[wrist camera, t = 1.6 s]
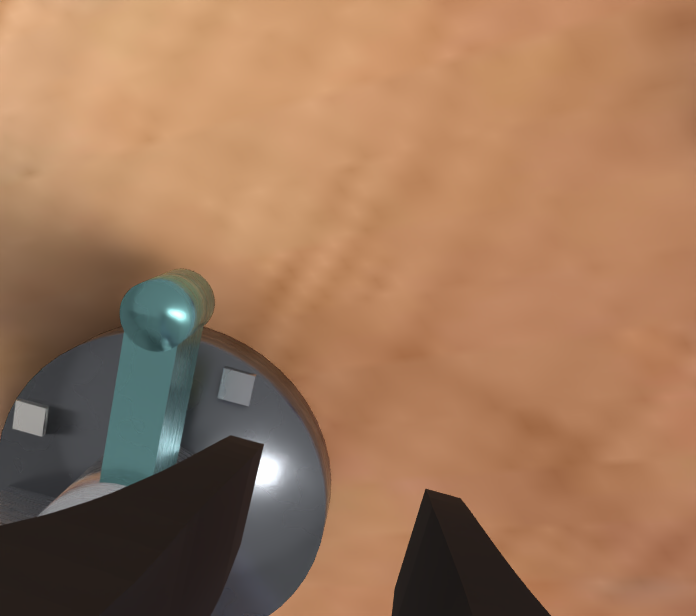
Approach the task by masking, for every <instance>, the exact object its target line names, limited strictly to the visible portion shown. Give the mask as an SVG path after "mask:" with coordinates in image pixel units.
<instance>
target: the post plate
mask: <svg viewBox="0 0 696 616" xmlns="http://www.w3.org/2000/svg"><path fill="white" fill-rule="evenodd" d="M123 335H124V330H123V327H119V328H116V329H113V330H110V331H107V332H104V333H102V334H100V335H98V336H96V337H94V338H92V339H90V340H88V341H86V342H84V343H82V344H81V345H79V346H77V347H75V348H73V349H71V350H69V351H67V352H65V353H64V354H62V355H60V356H58V357H57V358H56V359H54V360H53V361H51V362H50V363H49V364H47V365H46V366H45V367H43V368H42V369H41V370H40V371H39V372H38V373H37V374H36V375H35V376H34V377H33V378H32V379H31V380H30V381H29V382H28V384H27V385H26V386H25V388H24V389H23V390H22V392H21V393H20V394H19V396H18V397H17V399H16V401H15V403H14V405H13V407H12V408H11V410H10V412H9V414H8V417H7V420H6V422H5V425H4V428H3V431H2V435H1V440H0V525H4V524H9V523H13V522H17V521H21V520H26V519H30V518H34V517H37V516H38V515H39V514H40V513H41V512H42V511H43V510H44V509H45V508H46V507H48V506H49V505H50V504H51V503H52V502H53V501H54V500H55V499H56V498H57V497H58V496H59V495H60V494H62V493H63V492H64V491H65V490H66V489H67V488H68V487H69V486H70V485H71V484H72V483H73V482H74V481H76V480H77V479H78V478H79V477H80V476H81V475H82V474H83V473H84V472H85V471H86V470H87V469H88V468H90V467H91V466H92V465H93V464H94V463H95V462H96V461H97V460H98V459H99V458H100V457H101V456H102V455H104V451H105V445H106V439H107V433H108V427H109V421H110V415H111V408H112V402H113V396H114V390H115V384H116V378H117V372H118V366H119V360H120V354H121V348H122V341H123ZM230 435H232V436H236V437H240V438H243V439H247V440H250V441H254V442H258V443H261V444H264V447H263V451H262V456H261V460H260V464H259V469H258V473H257V477H256V481H255V486H254V490H253V494H252V499H251V503H250V507H249V511H248V516H247V520H246V524H245V529H244V533H243V537H242V541H241V545H240V548H239V551H238V553H237V556H236V558H235V561H234V564H233V566H232V569H231V571H230V574H229V577H228V579H227V582H226V584H225V587H224V589H223V592H222V594H221V597H220V599H219V600H218V602H217V604H216V606H215V608H214V610H213V612H212V614H211V616H269V615H270V614H271V613H273V612H274V611H275V610H277V609H278V608H279V607H281V606H282V605H283V604H284V603H285V602H286V601H287V600H288V599H289V598H290V597H291V596H292V595H293V594H294V592H295V591H296V590H297V588H298V587H299V586H300V584H301V583H302V582H303V580H304V579H305V577H306V575H307V574H308V572H309V570H310V568H311V566H312V564H313V562H314V560H315V557H316V554H317V552H318V549H319V546H320V543H321V539H322V535H323V531H324V526H325V522H326V518H327V513H328V508H329V503H330V494H331V473H330V462H329V457H328V453H327V448H326V444H325V440H324V438H323V435H322V432H321V430H320V427H319V425H318V422H317V420H316V418H315V416H314V415H313V413H312V411H311V409H310V407H309V405H308V404H307V402H306V401H305V399H304V398H303V396H302V395H301V394H300V392H299V391H298V390H297V388H296V387H295V385H294V384H293V383H292V382H291V381H290V380H289V379H288V378H287V377H286V376H285V375H284V374H283V373H282V372H281V371H280V370H279V369H278V368H277V367H276V366H275V365H273V364H272V363H271V362H270V361H269V360H267V359H266V358H265V357H264V356H263V355H261V354H259V353H258V352H256V351H255V350H253V349H252V348H250V347H249V346H247V345H245V344H244V343H242V342H239V341H237V340H235V339H233V338H231V337H229V336H227V335H225V334H222V333H219V332H216V331H213V330H210V329H207V328H204V327H203V331H202V336H201V342H200V347H199V352H198V357H197V362H196V367H195V372H194V377H193V382H192V387H191V392H190V397H189V403H188V408H187V413H186V418H185V423H184V428H183V433H182V438H181V443H180V446H181V447H183V448H184V449H186V450H187V451H189V452H190V453H192V454H193V455H194V454H196V453H198V452H199V451H201V450H203V449H205V448H207V447H209V446H211V445H213V444H214V443H216V442H218V441H220V440H222V439H224V438H226V437H228V436H230Z"/></svg>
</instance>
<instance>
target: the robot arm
mask: <svg viewBox="0 0 696 616" xmlns="http://www.w3.org/2000/svg"><path fill="white" fill-rule="evenodd" d="M263 447H264V444H261V443H258V442H254V441H250V440H247V439H243V438H240V437H236V436H232V435H230V436H228V437H226V438H224V439H222V440H220V441H218V442H216V443H214V444H213V445H211V446H209V447H207V448H205V449H203V450H201V451H199V452H198V453H196V454H194V455H192V456H190V457H188V458H186V459H185V460H183V461H181V462H179V463H177V464H175V465H173V466H171V467H169V468H167V469H165V470H163V471H161V472H159V473H156V474H154V475H152V476H149V477H147V478H145V479H143V480H140V481H138V482H136V483H133V484H131V485H129V486H126V487H124V488H122V489H120V490H117V491H115V492H112V493H110V494H107V495H104V496H102V497H99V498H96V499H93V500H91V501H88V502H85V503H82V504H78V505H75V506H72V507H69V508H66V509H63V510H59V511H56V512H53V513H49V514H46V515H42V516H38V517H34V518H30V519H26V520H21V521H17V522H13V523H9V524H4V525H0V616H211V614H212V612H213V610H214V608H215V606H216V604H217V602H218V600H219V599H220V597H221V594H222V592H223V589H224V587H225V584H226V582H227V579H228V577H229V574H230V571H231V569H232V566H233V564H234V561H235V558H236V556H237V553H238V551H239V548H240V545H241V541H242V537H243V533H244V529H245V524H246V520H247V516H248V511H249V507H250V503H251V499H252V494H253V490H254V486H255V481H256V477H257V473H258V469H259V464H260V460H261V456H262V451H263ZM392 616H551V615H550V614H549V613H548V612H547V610H546V609H545V608H544V607H543V606H542V605H541V603H540V602H539V601H538V600H537V599H536V598H535V596H534V595H533V594H532V593H531V592H530V590H529V589H528V588H527V587H526V585H525V584H524V583H523V582H522V581H521V579H520V578H519V577H518V575H517V574H516V573H515V572H514V570H513V569H512V568H511V566H510V565H509V564H508V562H507V561H506V560H505V558H504V557H503V556H502V554H501V553H500V552H499V550H498V549H497V548H496V546H495V545H494V544H493V542H492V541H491V539H490V538H489V537H488V535H487V534H486V532H485V531H484V530H483V528H482V527H481V525H480V524H479V523H478V521H477V520H476V518H475V517H474V516H473V514H472V513H471V511H470V510H469V509H468V507H467V506H466V505H465V503H464V502H463V501H462V500H461V499H460V498H457V497H454V496H450V495H447V494H443V493H439V492H436V491H432V490H428V489H425V493H424V496H423V499H422V502H421V505H420V509H419V512H418V515H417V518H416V522H415V525H414V528H413V531H412V534H411V538H410V541H409V544H408V547H407V551H406V554H405V557H404V560H403V563H402V567H401V570H400V573H399V576H398V580H397V583H396V586H395V591H394V600H393V609H392Z"/></svg>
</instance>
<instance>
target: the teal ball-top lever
mask: <svg viewBox="0 0 696 616" xmlns="http://www.w3.org/2000/svg"><path fill="white" fill-rule="evenodd" d="M214 306H215V299H214V294H213V291H212V289H211V287H210V285H209V284H208V282H207V281H206V280H205V279H204V278H203V277H202V276H201V275H199V274H198V273H196V272H194V271H191V270H187V269H175V270H171V271H169V272H166V273H164V274H161V275H159V276H157V277H154V278H152V279H149V280H147V281H145V282H142V283H140V284H137V285H136V286H134V287H132V288H131V289H130V290H129V291H128V292H127V293H126V295H125V296H124V298H123V300H122V302H121V306H120V321H121V325H122V327H123V330H124V335H123V341H122V348H121V354H120V360H119V366H118V372H117V378H116V384H115V390H114V396H113V402H112V408H111V415H110V421H109V427H108V433H107V439H106V445H105V451H104V455H102V456H101V457H100V458H99V459H98V460H97V461H96V462H95V463H94V464H93V465H92V466H91V467H90V468H88V469H87V470H86V471H85V472H84V473H83V474H82V475H81V476H80V477H79V478H78V479H77V480H76V481H74V482H73V483H72V484H71V485H70V486H69V487H68V488H67V489H66V490H65V491H64V492H63V493H62V494H60V495H59V496H58V497H57V498H56V499H55V500H54V501H53V502H52V503H51V504H50V505H49V506H48V507H46V508H45V509H44V510H43V511H42V512H41V513H40V514H39V515H38V516H42V515H46V514H49V513H53V512H56V511H59V510H63V509H66V508H69V507H72V506H75V505H78V504H82V503H85V502H88V501H91V500H93V499H96V498H99V497H102V496H104V495H107V494H110V493H112V492H115V491H117V490H120V489H122V488H124V487H126V486H129V485H131V484H133V483H136V482H138V481H140V480H143V479H145V478H147V477H149V476H152V475H154V474H156V473H159V472H161V471H163V470H165V469H167V468H169V467H171V466H173V465H175V464H177V463H179V462H181V461H183V460H185V459H186V458H188V457H190V456H192V455H193V454H192V453H190V452H189V451H187V450H186V449H184V448H183V447H181V446H180V443H181V438H182V433H183V428H184V423H185V418H186V413H187V408H188V403H189V397H190V392H191V387H192V382H193V377H194V372H195V367H196V362H197V357H198V352H199V347H200V342H201V336H202V331H203V326H204V325H205V324H206V323H207V322H208V321H209V320H210V318H211V316H212V314H213V311H214ZM38 516H37V517H38Z"/></svg>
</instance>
